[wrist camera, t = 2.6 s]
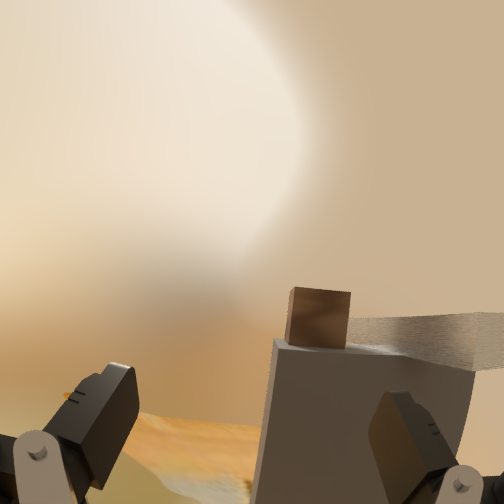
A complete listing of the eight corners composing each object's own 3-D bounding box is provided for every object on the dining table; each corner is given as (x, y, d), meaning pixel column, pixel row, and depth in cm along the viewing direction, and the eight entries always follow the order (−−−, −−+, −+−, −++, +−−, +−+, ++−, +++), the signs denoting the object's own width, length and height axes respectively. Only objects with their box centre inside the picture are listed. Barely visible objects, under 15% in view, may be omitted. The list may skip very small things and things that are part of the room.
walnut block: (288, 344, 25) (294, 286, 26) (284, 340, 30) (289, 291, 31) (344, 349, 25) (350, 292, 26) (332, 344, 30) (337, 296, 31)
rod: (472, 371, 11) (478, 312, 12) (342, 340, 39) (344, 318, 39) (507, 367, 11) (513, 313, 12) (363, 341, 38) (365, 319, 39)
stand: (234, 601, 15) (278, 348, 21) (240, 550, 25) (273, 338, 32) (387, 592, 14) (478, 353, 20) (366, 548, 24) (423, 346, 31)
